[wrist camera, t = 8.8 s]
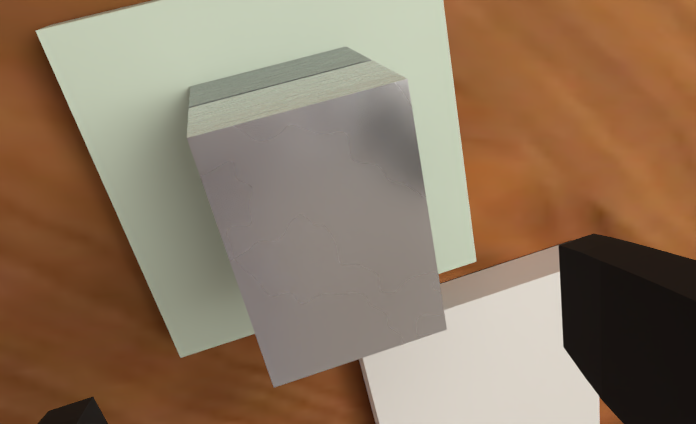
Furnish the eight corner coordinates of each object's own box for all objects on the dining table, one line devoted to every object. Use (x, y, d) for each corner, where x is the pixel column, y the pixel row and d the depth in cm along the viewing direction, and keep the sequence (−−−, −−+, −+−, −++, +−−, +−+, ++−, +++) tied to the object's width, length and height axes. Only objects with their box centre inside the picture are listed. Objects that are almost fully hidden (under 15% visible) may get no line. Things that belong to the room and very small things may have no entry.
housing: (384, 239, 17) (446, 329, 13) (254, 279, 17) (273, 387, 13) (346, 46, 15) (407, 78, 11) (190, 86, 14) (186, 138, 10)
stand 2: (578, 411, 25) (599, 436, 24) (390, 481, 24) (402, 511, 23) (572, 240, 21) (597, 258, 20) (347, 314, 20) (357, 339, 19)
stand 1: (457, 241, 20) (476, 261, 19) (181, 330, 19) (180, 357, 17) (414, -64, 16) (434, -66, 14) (50, 24, 14) (35, 30, 13)
